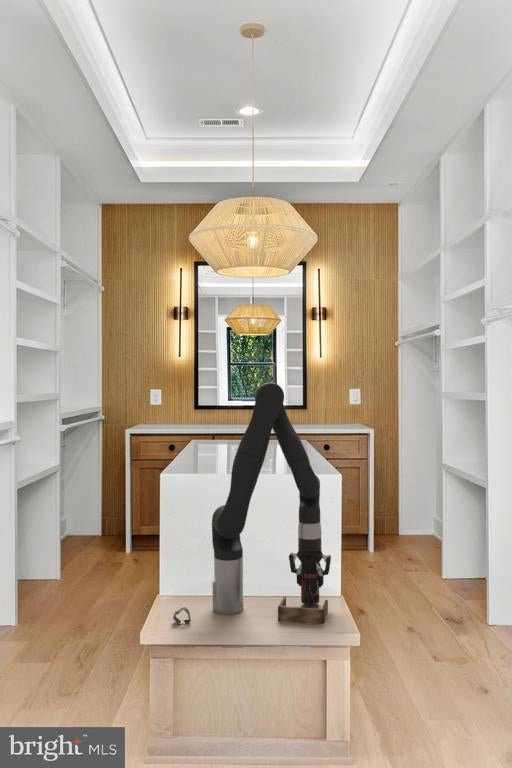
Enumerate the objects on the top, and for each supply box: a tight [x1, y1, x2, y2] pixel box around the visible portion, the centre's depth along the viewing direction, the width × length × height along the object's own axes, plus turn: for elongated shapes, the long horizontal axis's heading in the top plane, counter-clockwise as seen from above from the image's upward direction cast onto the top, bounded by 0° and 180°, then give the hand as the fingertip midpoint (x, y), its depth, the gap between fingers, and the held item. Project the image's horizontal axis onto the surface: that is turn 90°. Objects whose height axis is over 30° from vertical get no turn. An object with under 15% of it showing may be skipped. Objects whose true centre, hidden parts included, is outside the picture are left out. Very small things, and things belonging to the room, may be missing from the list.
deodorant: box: [300, 556, 320, 606], centre depth 215 cm, size 6×6×15 cm
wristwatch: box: [172, 606, 192, 625], centre depth 202 cm, size 3×5×5 cm
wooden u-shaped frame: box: [277, 595, 329, 625], centre depth 206 cm, size 14×9×4 cm, turn 76°
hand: (310, 585), depth 215 cm, fingers closed on deodorant, 6 cm apart
